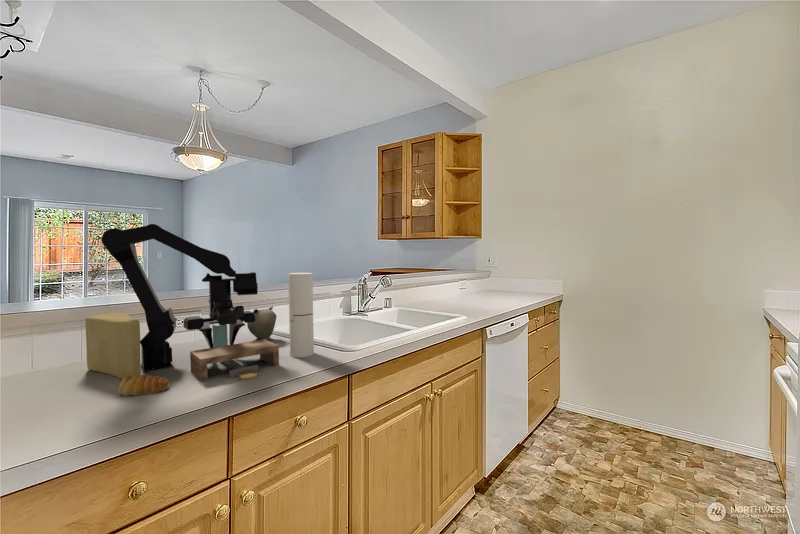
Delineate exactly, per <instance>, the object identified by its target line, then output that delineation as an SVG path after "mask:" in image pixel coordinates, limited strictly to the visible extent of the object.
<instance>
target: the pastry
mask: <svg viewBox="0 0 800 534" xmlns="http://www.w3.org/2000/svg"><path fill="white" fill-rule="evenodd" d="M169 385H170V380H169V379H167V378H165V377H162V376H157V375H150V374H145V373H144V374H141V375H136V376H134V377H132V376H126V377H124V378H123V379H121V382H120V384H119V389H118V394H119V395H121V396H124V397H129V396H130V395H131V396H142V395H148V394H157V393H159V392H161V391H165V390H166V389H168V388H169Z"/></svg>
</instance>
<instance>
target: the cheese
mask: <svg viewBox="0 0 800 534" xmlns="http://www.w3.org/2000/svg"><path fill="white" fill-rule="evenodd" d="M84 324H85V343H86V345H85V346H86V367H87V370H90V371H94V372H98V373H102V374H107V375H111V376H114V377H116V378H119V379H121V380H123V378H124V377H126V376H132V377H134V376H136V375H142V370H141V368H142V367H141V343H140V341H141V328H140V327H141V325H140V324H141V323H140V320H138V319H136V318H133V317H132V316H131V315H129V314H128V313H126V312H116V313H115V312H114V313H106V314H98V315H97V314H96V315H91V316H87V317H86V318H85V323H84Z"/></svg>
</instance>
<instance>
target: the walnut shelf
mask: <svg viewBox="0 0 800 534" xmlns="http://www.w3.org/2000/svg"><path fill="white" fill-rule="evenodd" d="M279 349H280V345H278V344H277V343H274V342H271V341H270V340H269V341H267V340H265V339H264V340H258V341H253V340H252V341H251V340H250V341H247V342H240V343H234V344H233V345H230V344H228V345H226V346H220V347H214V348H210V347H209V348H203V349H197V350H196V349H195V350H190V351H189V354H190V356H189V357H190V358H189V359H190V360H189V361H190V373H191V374H192V375H194V377H195V378H197V380H198V381H200V382H205V381H208V365H209V364H216V363H221V362H222V361H227V360H232V359H233V360H236V359H241V358H248V357H253V356H259V359H260V360H262V361H263V362H266V363H268V364H269V365H271V366H273V367H277V366H280V353H279V352H280V350H279ZM222 363H223V362H222Z"/></svg>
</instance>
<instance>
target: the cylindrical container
mask: <svg viewBox="0 0 800 534" xmlns="http://www.w3.org/2000/svg"><path fill="white" fill-rule="evenodd" d="M313 275H314V274H313V272H289V273H288V314H289V315H288V316H289V317H288V318H289V319H288V320H289V321H288V324H289V328H288V329H289V330H288V331H289V356H290V357H292V358H308V357H310V356H313V355H314V353H315V348H314V347H315V344H314V343H315V341H314V334H315V333H314V283H313V280H314V279H313V278H314V277H313Z"/></svg>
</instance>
